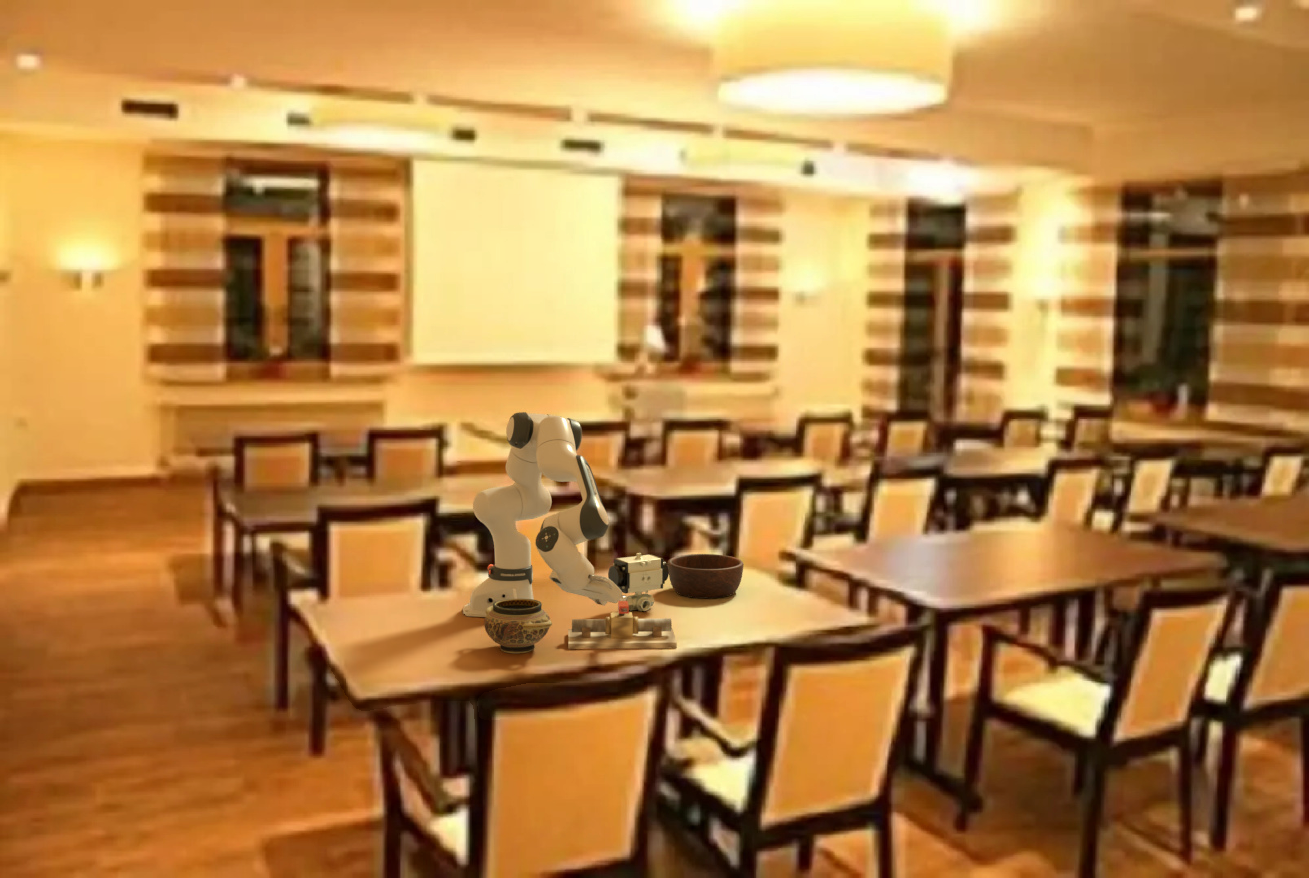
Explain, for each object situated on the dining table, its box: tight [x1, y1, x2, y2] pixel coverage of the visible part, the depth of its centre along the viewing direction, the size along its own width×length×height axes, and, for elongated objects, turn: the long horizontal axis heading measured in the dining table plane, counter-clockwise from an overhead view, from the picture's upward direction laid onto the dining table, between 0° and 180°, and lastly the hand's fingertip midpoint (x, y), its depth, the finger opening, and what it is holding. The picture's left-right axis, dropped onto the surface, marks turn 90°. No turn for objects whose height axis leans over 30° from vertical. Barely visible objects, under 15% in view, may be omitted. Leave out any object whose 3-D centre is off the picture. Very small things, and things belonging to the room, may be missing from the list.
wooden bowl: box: [667, 553, 744, 599], centre depth 416 cm, size 25×25×10 cm
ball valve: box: [607, 552, 669, 612], centre depth 391 cm, size 18×8×18 cm, turn 121°
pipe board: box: [567, 611, 678, 650], centre depth 356 cm, size 30×15×12 cm, turn 94°
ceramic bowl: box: [483, 599, 553, 654], centre depth 347 cm, size 24×18×15 cm
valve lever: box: [617, 594, 630, 614], centre depth 349 cm, size 15×3×2 cm, turn 4°
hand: (602, 602), depth 342 cm, fingers closed
